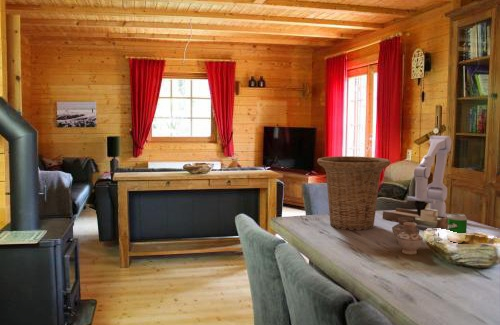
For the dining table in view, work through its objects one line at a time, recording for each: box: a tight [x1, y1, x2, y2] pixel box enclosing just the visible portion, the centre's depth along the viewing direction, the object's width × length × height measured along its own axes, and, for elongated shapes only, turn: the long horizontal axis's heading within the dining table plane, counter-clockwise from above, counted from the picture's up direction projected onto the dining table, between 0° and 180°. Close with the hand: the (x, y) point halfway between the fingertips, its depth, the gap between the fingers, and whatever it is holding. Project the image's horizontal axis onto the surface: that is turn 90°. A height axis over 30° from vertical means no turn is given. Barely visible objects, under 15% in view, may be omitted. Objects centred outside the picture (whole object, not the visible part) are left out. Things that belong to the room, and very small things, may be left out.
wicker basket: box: [316, 155, 391, 231], centre depth 236 cm, size 35×35×33 cm
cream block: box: [421, 208, 438, 221], centre depth 241 cm, size 6×6×4 cm
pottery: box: [391, 217, 424, 255], centre depth 197 cm, size 11×25×12 cm, turn 169°
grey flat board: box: [413, 216, 445, 231], centre depth 240 cm, size 29×12×2 cm, turn 133°
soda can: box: [447, 212, 468, 234], centre depth 206 cm, size 8×8×12 cm
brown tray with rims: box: [382, 207, 448, 229], centre depth 246 cm, size 16×32×4 cm, turn 43°
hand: (420, 215), depth 244 cm, fingers closed
